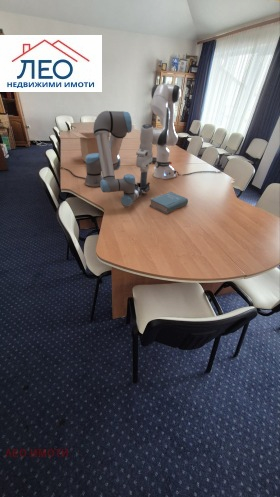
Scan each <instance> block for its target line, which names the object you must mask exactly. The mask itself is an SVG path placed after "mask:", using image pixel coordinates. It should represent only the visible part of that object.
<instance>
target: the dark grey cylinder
mask: <svg viewBox="0 0 280 497" xmlns="http://www.w3.org/2000/svg"><path fill="white" fill-rule="evenodd" d="M139 183H140V187H139V188H141V187H142V188H143V187H145V186H146V184H148V172H141V171H140V181H139ZM146 195H147V193H146V194H145V193H142V194H141V195H140V196H146Z"/></svg>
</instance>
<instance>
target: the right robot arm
mask: <svg viewBox="0 0 280 497" xmlns="http://www.w3.org/2000/svg"><path fill="white" fill-rule="evenodd" d="M181 94H182V90H181V87H180V86H179V85H177V84H168V83H167V84H165V83H161V84H155V85H154V86H153V87H152V88H151V104H150V108H151V111H152V113H153V114H154V115H155V116H158V117H159V123H160V125H161V127H162V128H161V129H159V128H158V129H155V128H154V126H153V125H152V124H150V123H146V124H143V125H141V128H140V134H139V141H140V142H139V148H138V150H137V151H136V153H135V154H136V161H135V162H136V168H139V169H141V171H140V173H141V172H144V170H143V168H144V167H148V168H149V165H150V164H151V163H152V158H153V157H154V156H153V145H155V147H156V158H157V159H156V163H154V164H155V165H154V171H153V175H152V176H153V177H154V178H156V179H162V180H169V179H173V178H177V175H178V176H180V174H179V172H178V171H177V170H176V169H174V168H173V167H172V166H171V165H172V164H173V162H172V161H169V158H170V150H169V149H168V147H174V146H176V145H177V143H178V140H179V136H178V134H177V133H176V130H175V126H174V117H175V104H176V103H178V101H179V100H180V98H181ZM167 146H168V147H167ZM222 172H223V170H221V171H219V173H222ZM197 173H198V171H194V172H190V173H184V174H183V176H188V175H191V174H197ZM199 173H215V170H213V171H212V170H211V171H210V170H202V171H199ZM176 174H177V175H176Z"/></svg>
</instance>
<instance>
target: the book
mask: <svg viewBox="0 0 280 497" xmlns="http://www.w3.org/2000/svg"><path fill="white" fill-rule="evenodd" d="M149 201H150V204H149V207H151V208H154V209H155V210H157V211H159V212H161V213H164V214H168V213H171V212H173V211H175V210H178V209H180V208H182V207H185V206H186V205H188V202H189V198H188V197H184V196H182V195H180V194H177V193H175V192H172V191H169V192H166V193H164V194H161V195H158V196H156V197H152V198H150V199H149Z"/></svg>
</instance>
